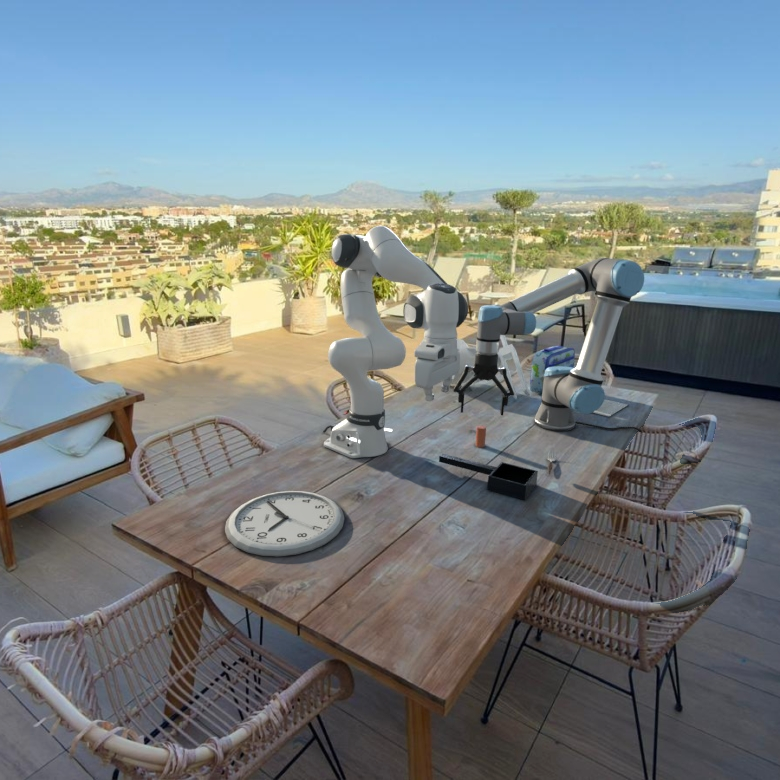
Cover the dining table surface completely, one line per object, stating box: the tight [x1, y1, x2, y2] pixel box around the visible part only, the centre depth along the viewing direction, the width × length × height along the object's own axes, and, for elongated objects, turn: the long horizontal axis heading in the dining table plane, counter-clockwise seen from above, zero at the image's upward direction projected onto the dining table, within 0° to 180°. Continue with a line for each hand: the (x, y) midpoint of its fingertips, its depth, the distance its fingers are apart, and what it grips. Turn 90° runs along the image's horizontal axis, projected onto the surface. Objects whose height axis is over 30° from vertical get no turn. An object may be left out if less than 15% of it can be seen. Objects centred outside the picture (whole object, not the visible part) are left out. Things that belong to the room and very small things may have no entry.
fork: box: [547, 449, 557, 475], centre depth 169 cm, size 3×16×2 cm, turn 160°
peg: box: [475, 425, 487, 448], centre depth 183 cm, size 3×3×7 cm
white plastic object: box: [442, 335, 531, 400], centre depth 245 cm, size 37×45×31 cm
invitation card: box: [592, 399, 629, 418], centre depth 226 cm, size 21×1×15 cm
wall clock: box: [224, 490, 345, 557], centre depth 134 cm, size 30×2×30 cm
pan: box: [438, 453, 539, 501], centre depth 158 cm, size 29×11×5 cm, turn 58°
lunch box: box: [529, 345, 576, 394], centre depth 244 cm, size 26×11×21 cm, turn 135°
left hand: (437, 396), depth 143 cm, fingers open, 8 cm apart
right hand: (481, 412), depth 180 cm, fingers open, 13 cm apart
